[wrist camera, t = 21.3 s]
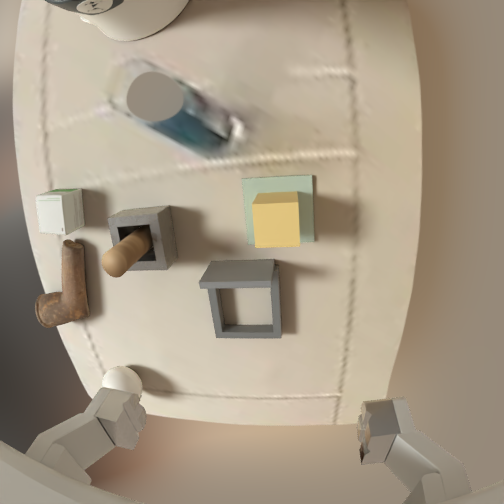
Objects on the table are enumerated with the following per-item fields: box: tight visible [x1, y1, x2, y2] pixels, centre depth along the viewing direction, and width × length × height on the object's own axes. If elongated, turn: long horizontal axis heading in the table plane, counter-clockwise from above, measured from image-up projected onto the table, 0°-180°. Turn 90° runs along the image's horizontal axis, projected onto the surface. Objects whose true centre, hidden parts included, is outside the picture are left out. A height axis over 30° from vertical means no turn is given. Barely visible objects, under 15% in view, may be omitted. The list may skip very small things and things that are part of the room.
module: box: [252, 191, 300, 248], centre depth 34 cm, size 4×4×6 cm
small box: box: [36, 189, 85, 235], centre depth 38 cm, size 6×6×5 cm
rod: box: [102, 224, 154, 277], centre depth 35 cm, size 3×3×10 cm
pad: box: [242, 175, 314, 245], centre depth 37 cm, size 8×8×1 cm
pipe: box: [35, 240, 90, 328], centre depth 43 cm, size 6×17×10 cm
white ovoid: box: [102, 366, 143, 398], centre depth 48 cm, size 10×7×7 cm
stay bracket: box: [107, 205, 178, 271], centre depth 38 cm, size 7×7×4 cm
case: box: [199, 259, 282, 338], centre depth 39 cm, size 11×9×6 cm
